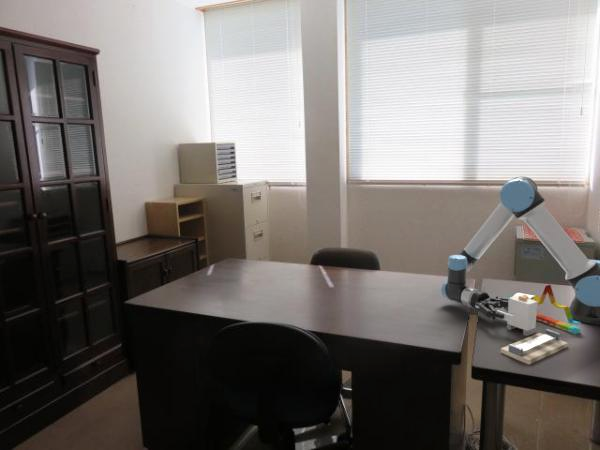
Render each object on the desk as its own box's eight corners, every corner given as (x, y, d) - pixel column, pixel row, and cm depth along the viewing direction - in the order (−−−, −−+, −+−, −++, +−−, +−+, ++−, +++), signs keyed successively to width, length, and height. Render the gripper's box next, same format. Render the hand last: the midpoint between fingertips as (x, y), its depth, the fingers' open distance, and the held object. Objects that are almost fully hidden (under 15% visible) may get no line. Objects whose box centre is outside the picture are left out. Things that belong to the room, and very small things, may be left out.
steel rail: (547, 335, 160) (547, 329, 159) (559, 339, 156) (560, 333, 156) (508, 351, 149) (508, 344, 148) (520, 356, 145) (521, 349, 145)
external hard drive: (508, 303, 197) (516, 295, 206) (528, 307, 192) (536, 299, 201) (508, 299, 197) (517, 292, 206) (529, 303, 191) (536, 295, 201)
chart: (503, 308, 190) (505, 274, 188) (508, 307, 192) (510, 273, 189) (574, 335, 164) (577, 295, 161) (579, 333, 165) (583, 294, 162)
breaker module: (514, 325, 173) (517, 292, 170) (535, 332, 166) (537, 298, 163) (506, 328, 170) (508, 295, 168) (526, 336, 163) (529, 301, 161)
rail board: (539, 336, 163) (539, 332, 162) (567, 346, 154) (567, 342, 154) (500, 352, 151) (500, 348, 151) (528, 364, 143) (529, 360, 143)
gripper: (494, 301, 190) (544, 317, 173) (454, 314, 178) (502, 333, 160) (495, 284, 189) (545, 298, 171) (455, 296, 176) (503, 312, 159)
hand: (524, 315), depth 166 cm, fingers open, 13 cm apart
